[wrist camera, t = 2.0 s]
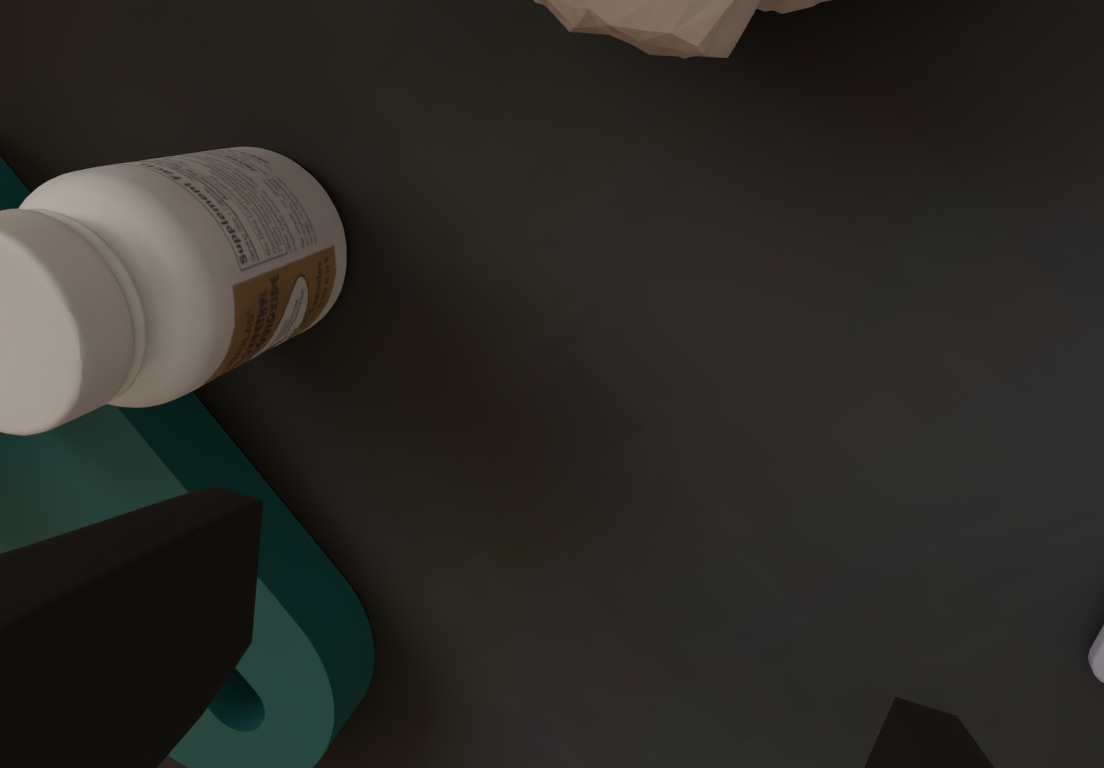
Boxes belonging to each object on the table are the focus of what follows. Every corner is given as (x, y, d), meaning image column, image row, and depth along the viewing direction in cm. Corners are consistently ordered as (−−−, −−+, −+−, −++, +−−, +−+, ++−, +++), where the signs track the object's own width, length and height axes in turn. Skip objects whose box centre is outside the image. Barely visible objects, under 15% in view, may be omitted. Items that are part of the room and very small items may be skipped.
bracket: (-153, 272, 24) (-554, 358, 17) (-33, 115, 22) (-450, 140, 14) (264, 761, 26) (62, 1020, 19) (422, 673, 24) (255, 938, 16)
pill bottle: (267, 367, 22) (9, 511, 15) (151, 221, 21) (-174, 297, 14) (390, 265, 20) (163, 375, 13) (267, 103, 19) (-39, 125, 12)
